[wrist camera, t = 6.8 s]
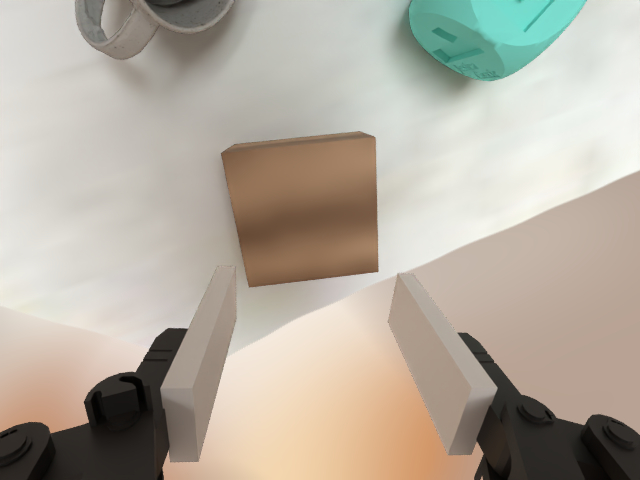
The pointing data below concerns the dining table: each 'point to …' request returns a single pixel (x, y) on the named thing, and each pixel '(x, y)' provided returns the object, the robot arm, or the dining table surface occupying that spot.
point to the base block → (305, 206)
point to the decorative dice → (489, 32)
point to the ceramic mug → (147, 22)
